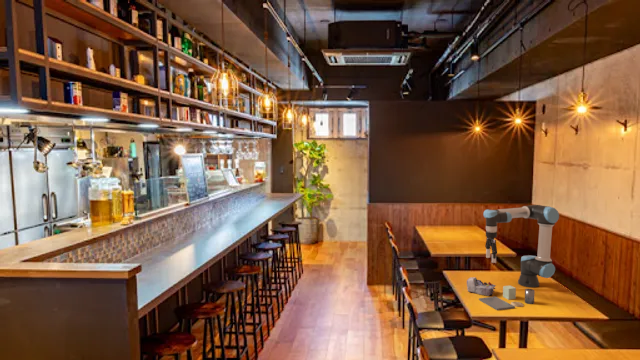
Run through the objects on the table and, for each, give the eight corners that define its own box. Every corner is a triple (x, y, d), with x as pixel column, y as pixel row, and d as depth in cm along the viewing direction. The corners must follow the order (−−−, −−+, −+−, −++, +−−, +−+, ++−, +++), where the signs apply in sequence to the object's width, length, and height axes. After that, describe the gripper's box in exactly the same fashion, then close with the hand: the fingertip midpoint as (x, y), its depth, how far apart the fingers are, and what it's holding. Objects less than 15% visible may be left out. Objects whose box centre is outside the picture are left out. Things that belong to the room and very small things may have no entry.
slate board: (495, 298, 302) (495, 296, 302) (514, 308, 283) (514, 306, 283) (478, 300, 299) (478, 298, 299) (497, 310, 279) (497, 308, 279)
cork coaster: (517, 302, 294) (518, 301, 294) (526, 306, 286) (526, 305, 286) (508, 303, 292) (508, 302, 292) (516, 307, 284) (516, 306, 284)
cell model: (468, 274, 323) (496, 278, 314) (468, 288, 324) (495, 292, 315) (466, 279, 312) (494, 283, 303) (465, 293, 313) (494, 298, 304)
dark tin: (529, 300, 296) (530, 288, 296) (536, 303, 291) (536, 291, 290) (522, 301, 295) (523, 289, 294) (528, 304, 289) (529, 292, 289)
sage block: (509, 296, 306) (510, 285, 306) (515, 298, 301) (515, 288, 300) (502, 296, 305) (503, 286, 304) (508, 299, 299) (508, 288, 298)
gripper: (481, 228, 315) (480, 255, 317) (491, 235, 290) (490, 264, 292) (491, 228, 314) (490, 255, 316) (502, 235, 290) (502, 264, 291)
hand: (490, 260), depth 304 cm, fingers open, 13 cm apart
